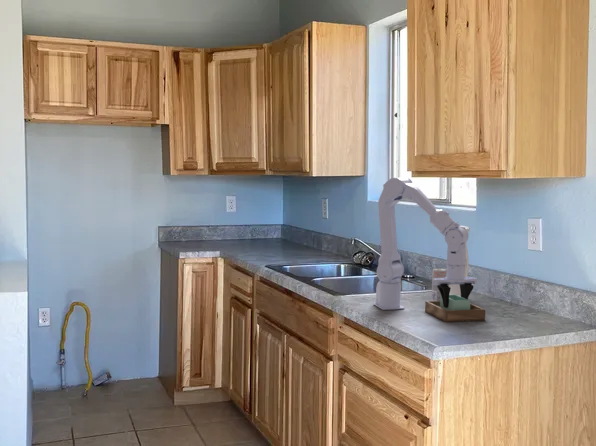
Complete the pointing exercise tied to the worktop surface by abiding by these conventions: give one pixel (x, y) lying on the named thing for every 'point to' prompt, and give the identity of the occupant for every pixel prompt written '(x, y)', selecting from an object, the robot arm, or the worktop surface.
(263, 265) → the worktop surface
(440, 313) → the big crate
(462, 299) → the small crate
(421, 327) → the worktop surface
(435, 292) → the energy drink
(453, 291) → the twisted white candle
